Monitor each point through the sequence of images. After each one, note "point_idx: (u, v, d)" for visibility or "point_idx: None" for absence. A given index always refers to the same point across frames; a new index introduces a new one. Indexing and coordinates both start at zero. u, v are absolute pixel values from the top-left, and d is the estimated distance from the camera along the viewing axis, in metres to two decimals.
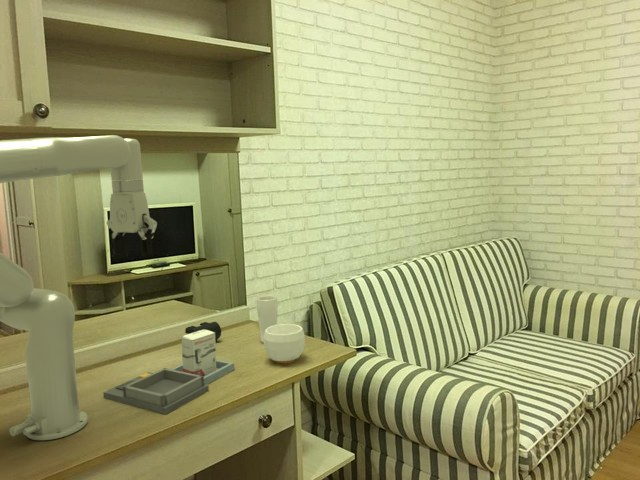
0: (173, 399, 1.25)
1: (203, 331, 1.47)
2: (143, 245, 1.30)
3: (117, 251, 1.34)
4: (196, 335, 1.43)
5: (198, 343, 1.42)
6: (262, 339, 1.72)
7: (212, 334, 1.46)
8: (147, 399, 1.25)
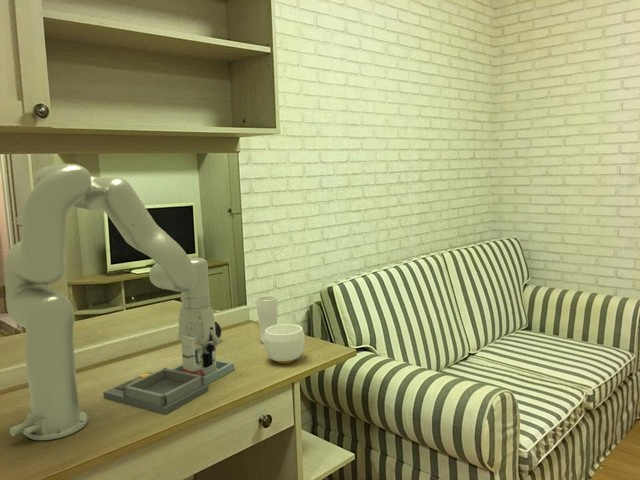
0: (173, 399, 1.25)
1: None
2: (205, 358, 1.43)
3: None
4: None
5: None
6: (262, 339, 1.72)
7: None
8: (147, 399, 1.25)
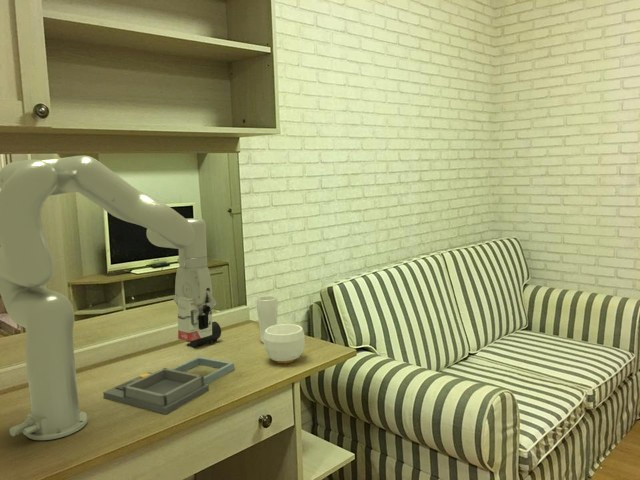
0: (173, 399, 1.25)
1: None
2: (201, 320, 1.41)
3: None
4: None
5: None
6: (262, 339, 1.72)
7: None
8: (147, 399, 1.25)
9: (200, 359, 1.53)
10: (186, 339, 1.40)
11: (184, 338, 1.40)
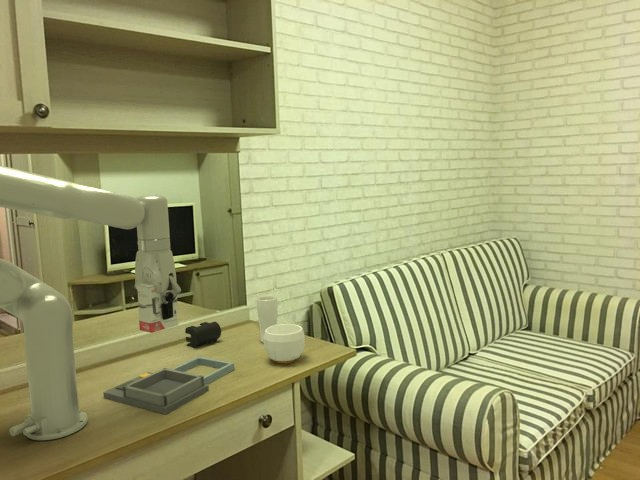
0: (173, 399, 1.25)
1: None
2: (164, 309, 1.26)
3: None
4: None
5: None
6: (262, 339, 1.72)
7: None
8: (147, 399, 1.25)
9: (200, 359, 1.53)
10: (148, 330, 1.25)
11: (146, 329, 1.26)
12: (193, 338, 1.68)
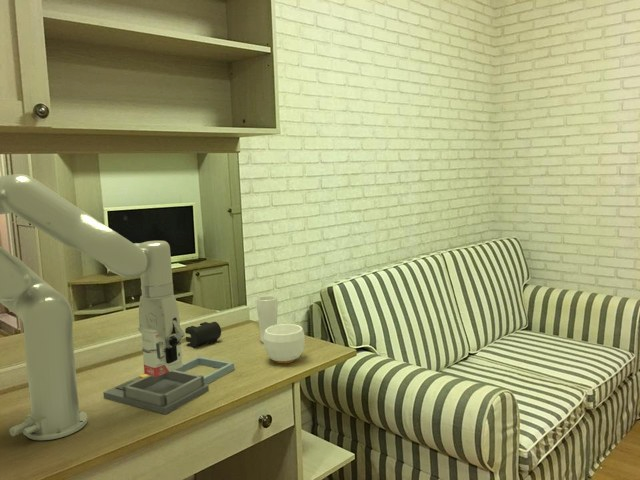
0: (173, 399, 1.25)
1: None
2: (168, 353, 1.28)
3: None
4: None
5: None
6: (262, 339, 1.72)
7: None
8: (147, 399, 1.25)
9: (200, 359, 1.53)
10: (152, 374, 1.27)
11: (150, 373, 1.27)
12: (193, 338, 1.68)
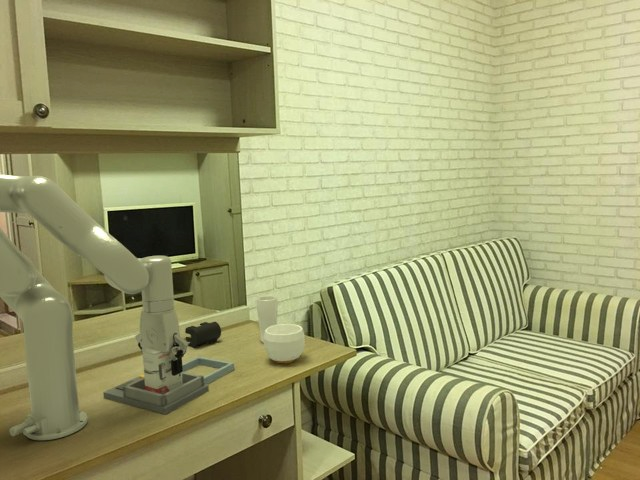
0: (173, 399, 1.25)
1: None
2: (173, 365, 1.27)
3: None
4: None
5: (162, 357, 1.27)
6: (262, 339, 1.72)
7: None
8: (147, 399, 1.25)
9: (200, 359, 1.53)
10: None
11: None
12: (193, 338, 1.68)
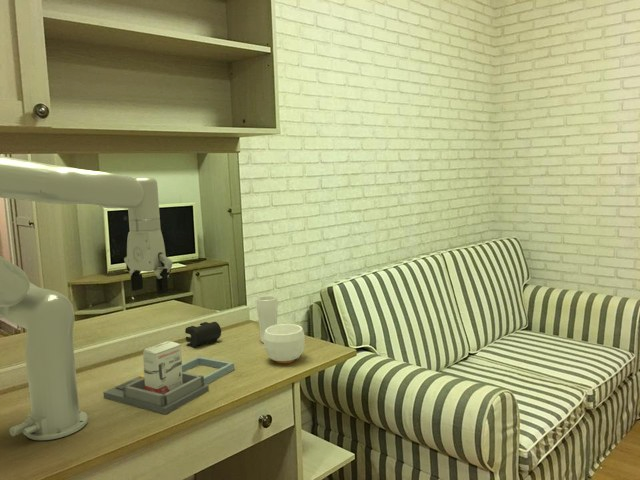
0: (173, 399, 1.25)
1: (167, 343, 1.32)
2: (158, 284, 1.30)
3: (134, 288, 1.35)
4: (160, 348, 1.28)
5: (162, 357, 1.27)
6: (262, 339, 1.72)
7: (178, 346, 1.31)
8: (147, 399, 1.25)
9: (200, 359, 1.53)
10: None
11: None
12: (193, 338, 1.68)
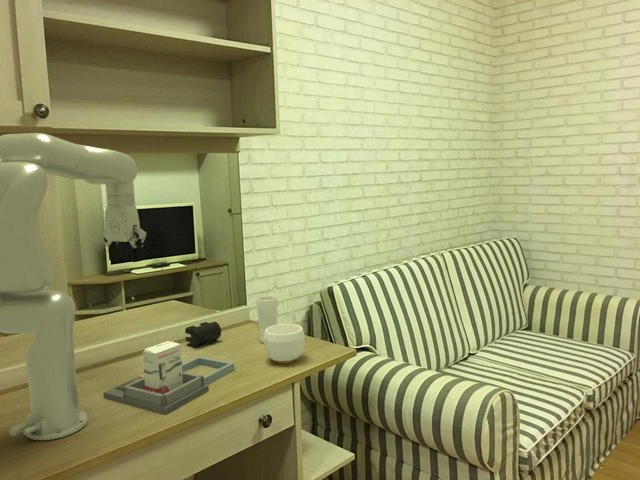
0: (173, 399, 1.25)
1: (167, 343, 1.32)
2: (134, 253, 1.45)
3: (111, 258, 1.50)
4: (160, 348, 1.28)
5: (162, 357, 1.27)
6: (262, 339, 1.72)
7: (178, 346, 1.31)
8: (147, 399, 1.25)
9: (200, 359, 1.53)
10: None
11: None
12: (193, 338, 1.68)
